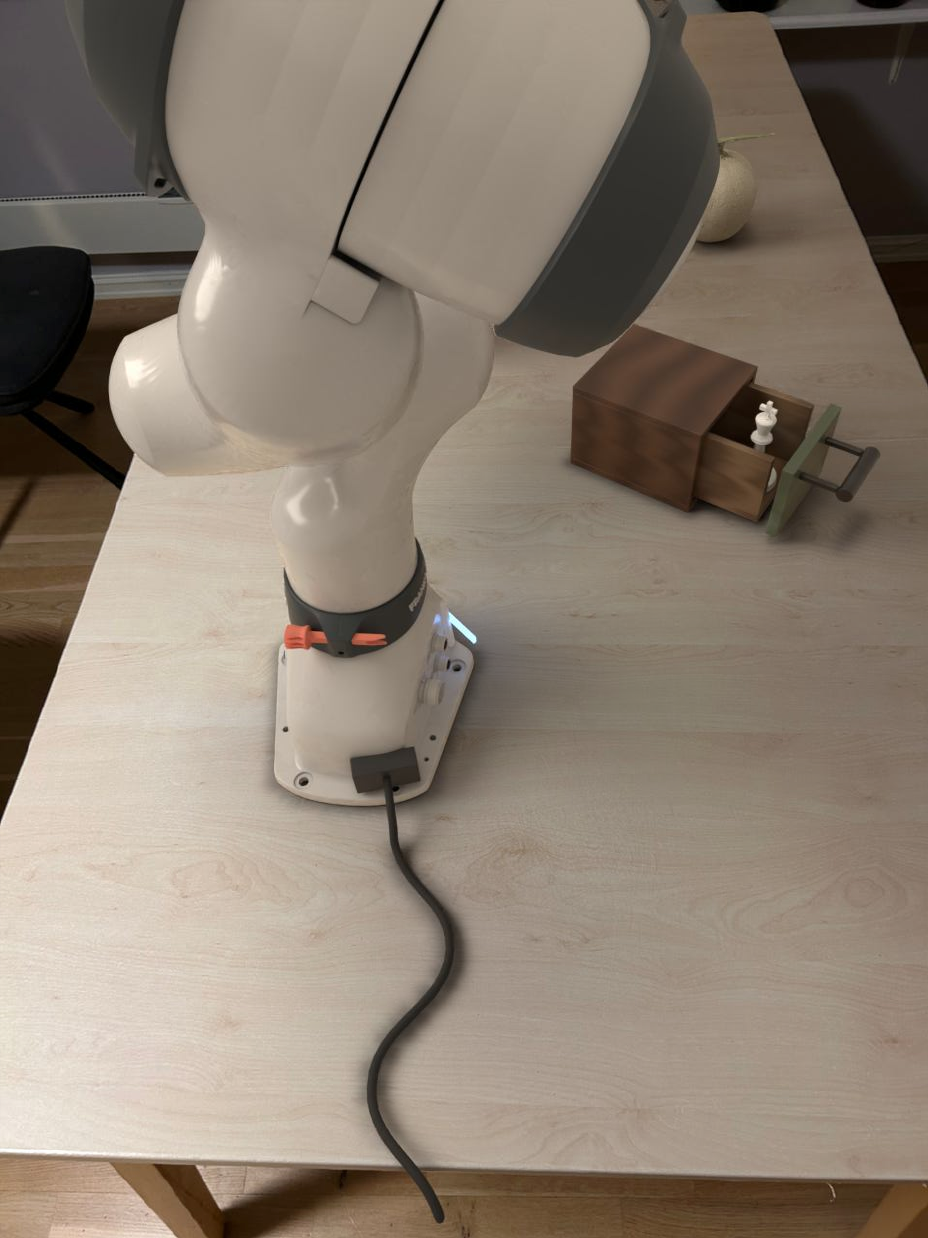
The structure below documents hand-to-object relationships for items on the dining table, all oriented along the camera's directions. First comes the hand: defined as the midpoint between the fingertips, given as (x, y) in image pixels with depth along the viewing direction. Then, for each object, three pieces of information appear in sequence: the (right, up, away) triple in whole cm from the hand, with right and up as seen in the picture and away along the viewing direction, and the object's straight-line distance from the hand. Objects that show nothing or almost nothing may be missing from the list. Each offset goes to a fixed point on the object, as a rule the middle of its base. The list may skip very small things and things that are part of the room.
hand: (516, 204), depth 83 cm
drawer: (+27, -23, +15) cm, 39 cm away
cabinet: (+17, -19, +21) cm, 33 cm away
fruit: (+29, +16, +48) cm, 58 cm away
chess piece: (+26, -22, +15) cm, 37 cm away
